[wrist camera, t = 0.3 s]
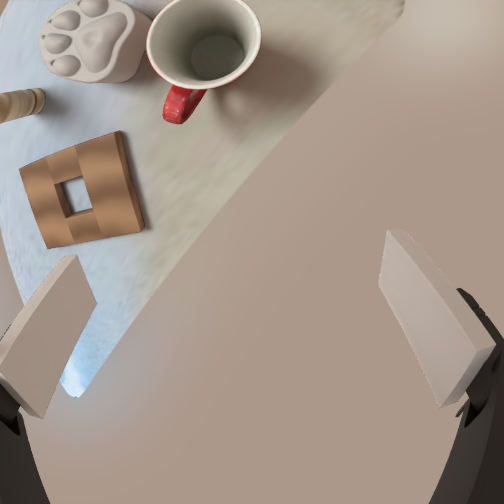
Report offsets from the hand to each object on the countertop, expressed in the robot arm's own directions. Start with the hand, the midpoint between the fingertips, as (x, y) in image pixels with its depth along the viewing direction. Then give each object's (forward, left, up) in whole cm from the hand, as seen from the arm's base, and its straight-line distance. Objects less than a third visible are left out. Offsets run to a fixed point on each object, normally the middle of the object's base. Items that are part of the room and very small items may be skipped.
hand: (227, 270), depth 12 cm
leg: (-14, -28, -28) cm, 42 cm away
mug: (-10, -2, -28) cm, 30 cm away
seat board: (+2, -24, -27) cm, 36 cm away
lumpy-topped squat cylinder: (-18, -15, -28) cm, 36 cm away
